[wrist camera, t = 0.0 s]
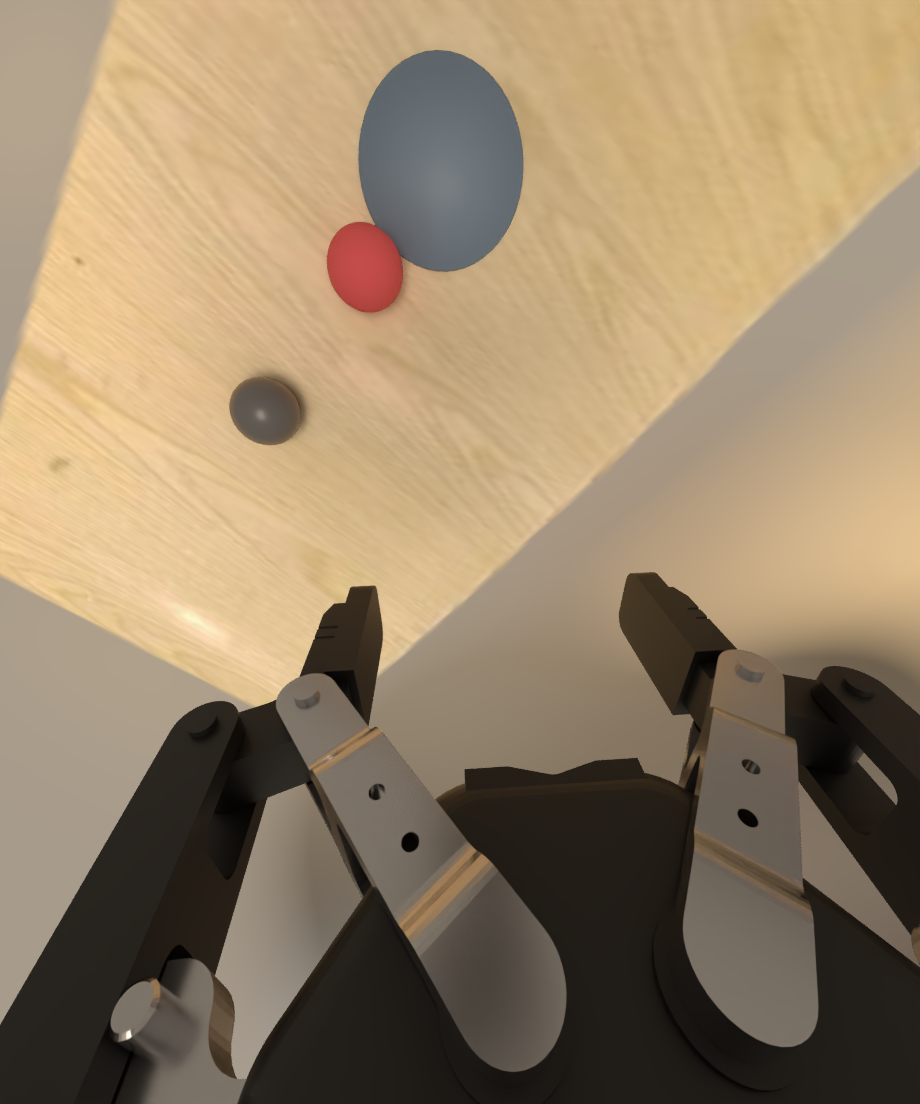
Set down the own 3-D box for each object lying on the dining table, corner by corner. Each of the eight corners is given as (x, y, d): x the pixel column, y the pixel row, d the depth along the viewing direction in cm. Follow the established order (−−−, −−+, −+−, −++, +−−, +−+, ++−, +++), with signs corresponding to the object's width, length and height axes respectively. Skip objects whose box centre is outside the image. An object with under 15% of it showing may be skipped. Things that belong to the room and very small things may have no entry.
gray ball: (237, 374, 36) (207, 382, 31) (300, 372, 36) (280, 380, 31) (255, 437, 38) (229, 454, 34) (313, 435, 39) (296, 451, 34)
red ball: (330, 231, 31) (310, 214, 26) (401, 229, 31) (395, 212, 26) (342, 313, 34) (326, 312, 29) (408, 312, 34) (403, 310, 29)
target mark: (346, 52, 27) (345, 50, 26) (527, 51, 27) (527, 49, 27) (370, 273, 32) (370, 273, 32) (518, 269, 33) (519, 269, 33)
